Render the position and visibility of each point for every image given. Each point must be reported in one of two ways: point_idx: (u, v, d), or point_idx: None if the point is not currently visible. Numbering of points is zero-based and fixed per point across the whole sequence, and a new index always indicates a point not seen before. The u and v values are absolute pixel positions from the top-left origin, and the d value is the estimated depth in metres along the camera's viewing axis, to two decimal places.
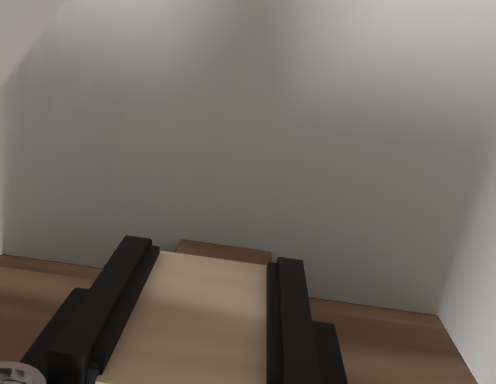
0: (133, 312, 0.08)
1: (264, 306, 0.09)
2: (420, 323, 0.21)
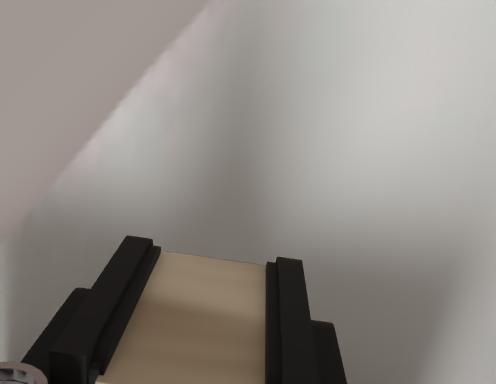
0: (133, 312, 0.08)
1: (264, 306, 0.09)
2: None
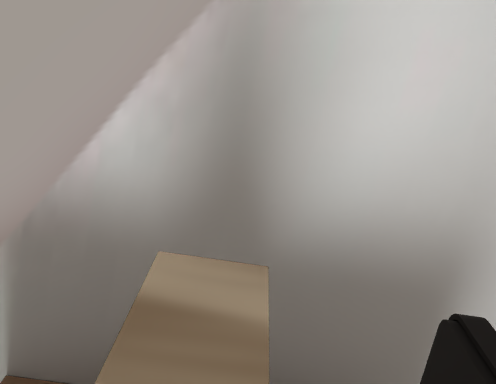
0: (132, 313, 0.08)
1: (263, 307, 0.09)
2: None
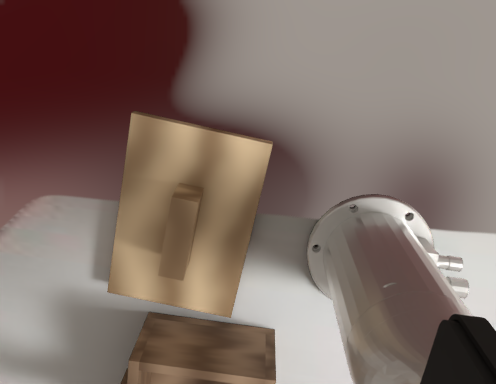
0: None
1: None
2: None
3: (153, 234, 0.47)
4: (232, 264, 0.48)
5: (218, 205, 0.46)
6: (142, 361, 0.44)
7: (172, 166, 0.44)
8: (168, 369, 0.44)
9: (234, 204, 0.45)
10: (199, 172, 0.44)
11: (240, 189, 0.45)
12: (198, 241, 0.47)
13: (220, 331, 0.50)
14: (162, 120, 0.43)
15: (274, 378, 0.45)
